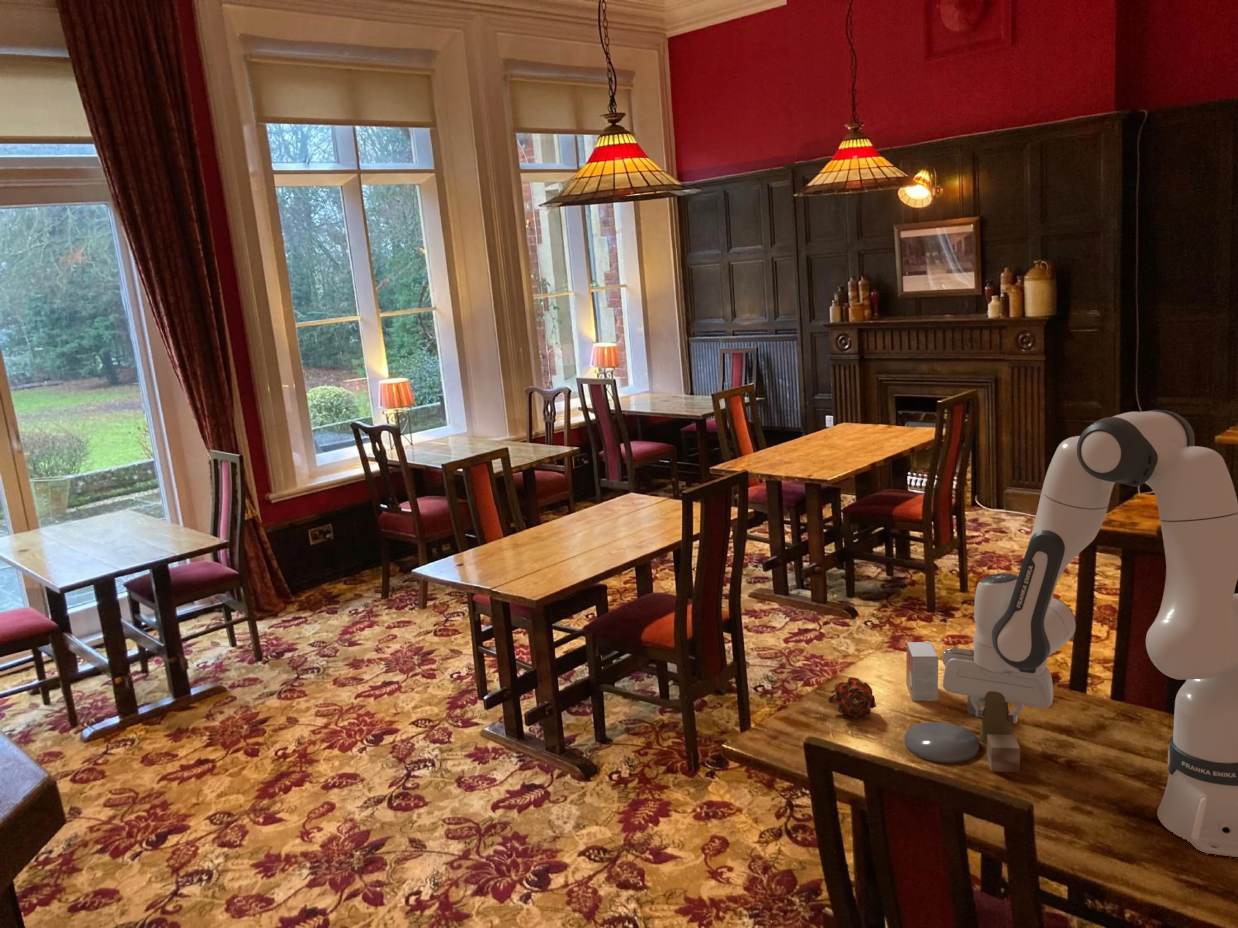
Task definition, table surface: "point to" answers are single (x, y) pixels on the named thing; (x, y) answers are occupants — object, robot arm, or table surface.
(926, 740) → the smooth pebble
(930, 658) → the small box
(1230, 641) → the robot arm
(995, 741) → the light brown cube
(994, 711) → the cork
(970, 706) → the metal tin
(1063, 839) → the table surface
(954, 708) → the table surface
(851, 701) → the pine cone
